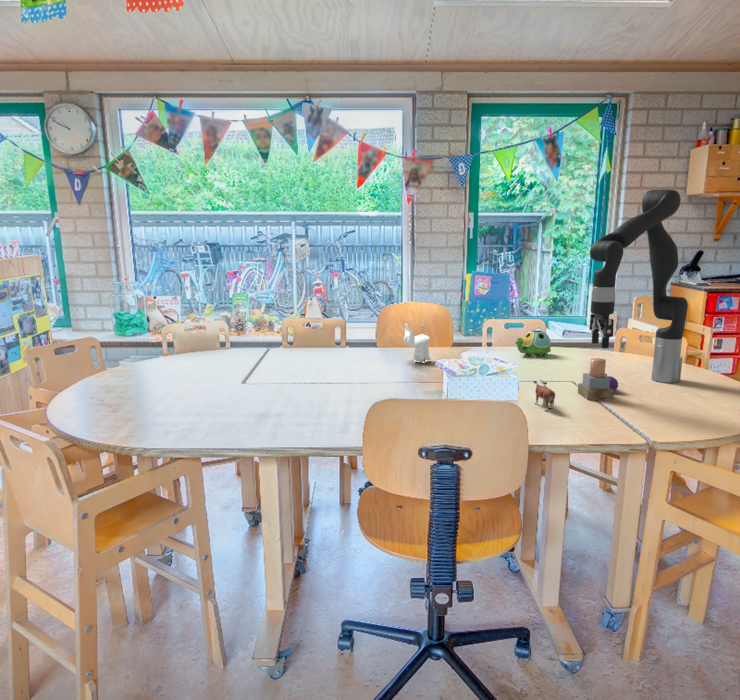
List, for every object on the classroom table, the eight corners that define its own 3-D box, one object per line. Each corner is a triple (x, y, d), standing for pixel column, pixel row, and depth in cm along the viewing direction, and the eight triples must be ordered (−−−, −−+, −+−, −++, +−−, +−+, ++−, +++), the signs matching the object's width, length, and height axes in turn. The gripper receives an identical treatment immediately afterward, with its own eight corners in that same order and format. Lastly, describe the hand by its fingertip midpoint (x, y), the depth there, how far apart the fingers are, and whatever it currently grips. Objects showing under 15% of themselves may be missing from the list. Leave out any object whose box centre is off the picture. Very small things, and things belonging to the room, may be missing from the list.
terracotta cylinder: (601, 374, 196) (602, 358, 195) (606, 377, 192) (608, 361, 190) (587, 374, 197) (588, 358, 195) (592, 377, 192) (593, 361, 190)
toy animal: (402, 357, 264) (400, 323, 260) (427, 355, 264) (426, 321, 261) (407, 367, 244) (405, 329, 241) (434, 365, 245) (433, 328, 241)
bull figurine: (542, 400, 192) (543, 377, 190) (556, 412, 179) (558, 388, 177) (530, 400, 192) (531, 378, 190) (543, 412, 179) (544, 388, 177)
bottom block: (602, 393, 200) (603, 383, 200) (612, 401, 192) (613, 390, 191) (577, 393, 201) (578, 383, 200) (587, 401, 192) (587, 390, 191)
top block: (601, 384, 199) (602, 373, 198) (609, 389, 192) (610, 378, 191) (582, 383, 199) (583, 373, 198) (588, 389, 192) (589, 378, 191)
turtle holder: (508, 354, 267) (509, 330, 265) (542, 351, 271) (543, 328, 269) (520, 359, 256) (522, 334, 253) (555, 357, 260) (557, 332, 257)
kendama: (612, 371, 216) (621, 379, 197) (608, 385, 217) (616, 395, 198) (597, 367, 218) (604, 376, 199) (593, 381, 219) (599, 391, 200)
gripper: (623, 302, 181) (619, 349, 184) (605, 297, 195) (602, 341, 198) (600, 302, 181) (597, 350, 184) (584, 297, 195) (581, 342, 198)
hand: (599, 345), depth 191 cm, fingers open, 8 cm apart
